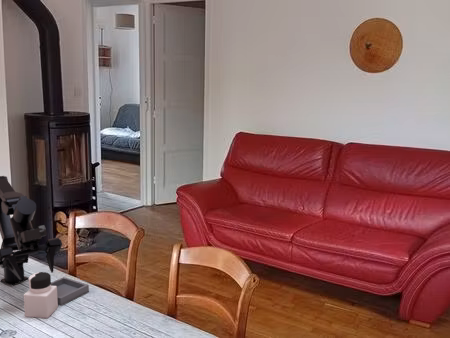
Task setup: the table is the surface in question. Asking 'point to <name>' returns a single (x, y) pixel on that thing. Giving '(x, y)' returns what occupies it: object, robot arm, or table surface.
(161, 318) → the table surface
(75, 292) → the charcoal tray
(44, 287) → the medicine bottle
